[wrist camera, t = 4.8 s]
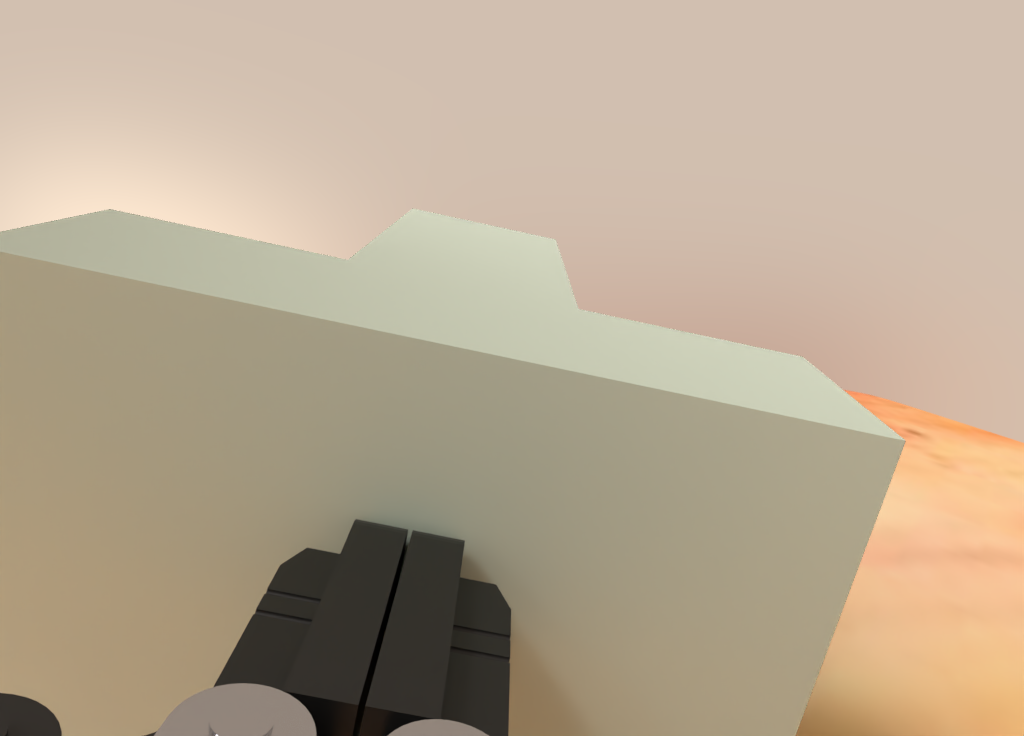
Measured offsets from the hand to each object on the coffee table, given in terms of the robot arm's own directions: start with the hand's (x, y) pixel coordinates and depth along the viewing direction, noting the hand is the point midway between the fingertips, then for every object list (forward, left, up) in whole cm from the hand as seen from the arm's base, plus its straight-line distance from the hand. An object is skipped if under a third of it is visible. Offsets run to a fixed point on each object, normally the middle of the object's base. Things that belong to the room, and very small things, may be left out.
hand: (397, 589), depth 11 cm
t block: (+5, +4, -7) cm, 9 cm away
